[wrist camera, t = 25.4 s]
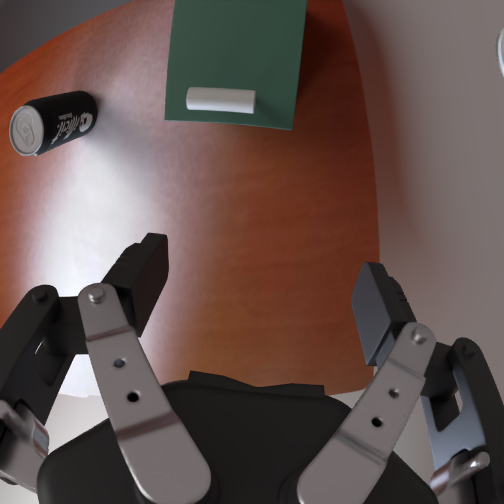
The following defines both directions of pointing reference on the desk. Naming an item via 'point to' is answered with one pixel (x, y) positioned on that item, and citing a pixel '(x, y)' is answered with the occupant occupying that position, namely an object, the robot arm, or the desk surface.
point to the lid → (235, 61)
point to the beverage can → (52, 122)
